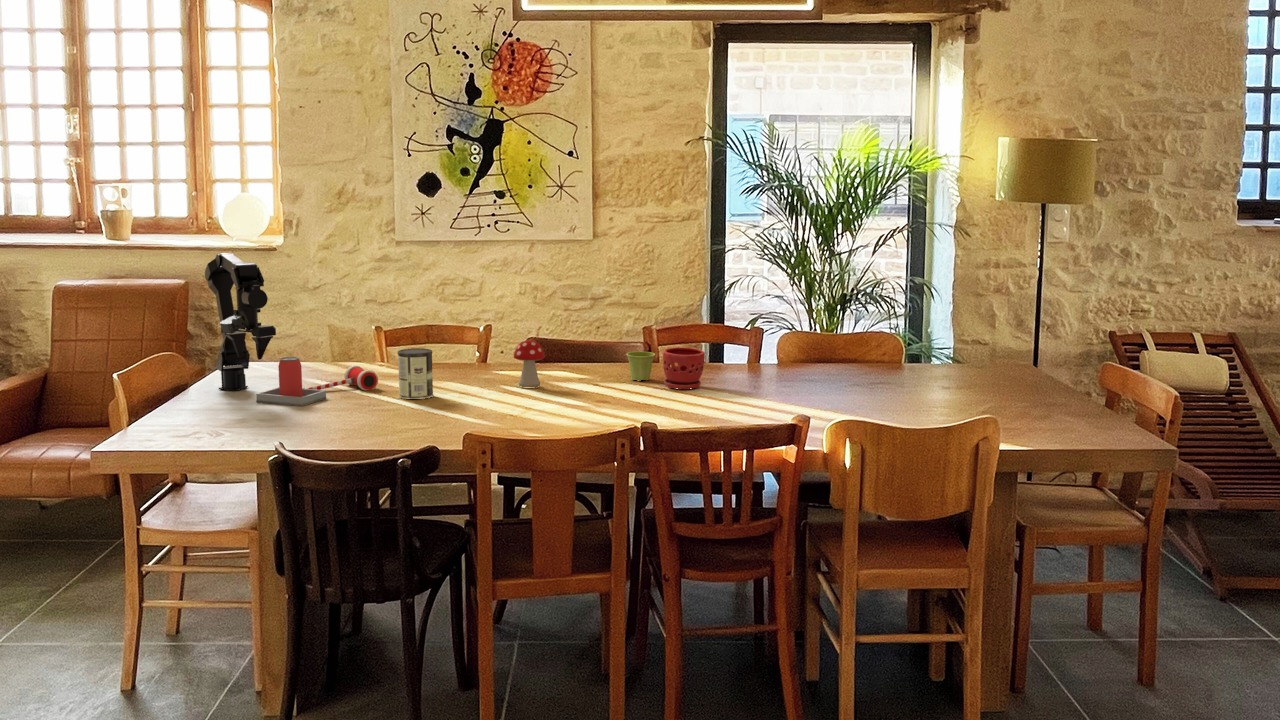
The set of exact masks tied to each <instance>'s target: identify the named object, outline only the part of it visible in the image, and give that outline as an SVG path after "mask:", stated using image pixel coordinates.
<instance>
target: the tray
mask: <svg viewBox="0 0 1280 720" xmlns="http://www.w3.org/2000/svg"><path fill="white" fill-rule="evenodd" d="M302 395H303V396H302V397H294V396H283V395H280V392H279V386H277V387H275V388H272V389H268V390H265V391H261V392H258V393H256V394H255V400H256V401H255V402H256V403H261V402H262V403H263V404H273V405H274V404H275V405H284V406H293V407H294V406H295V407H304V406H308V405H310V404H311V405H312V404H313V403H317V402H321V401H323V400H327V390H324V389H321V390H314V389H306V388H305V389H302Z"/></svg>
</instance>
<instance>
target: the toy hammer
mask: <svg viewBox="0 0 1280 720" xmlns="http://www.w3.org/2000/svg"><path fill="white" fill-rule="evenodd" d="M378 383H379V376H378V375H377V373H376V372H375V371H373V370H370V369H365V370H364V368H362V367H361V366H358V365H350V366H348V368H347V369H346V370H345V372H344V379H342V380H338V381H334V382H329V383H324V384H320V385H315V386H311V387H307V388H305V387H302V389H314V390H324V389H329V388H333V387H338V386H343V385H349V386H357V387H358V388H359V389H360V390H363V391H371V390H370V389H372V390H375V389H376V388H377V386H378Z"/></svg>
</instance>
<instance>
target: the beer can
mask: <svg viewBox="0 0 1280 720" xmlns="http://www.w3.org/2000/svg"><path fill="white" fill-rule="evenodd" d="M277 369H278V384H279V385H278V387H279V392H280V395H283V396H294V397H302V396H303V395H302V388H303V378H302V377H303V373H302V372H303V371H302V369H303V368H302V363H301V361H300V357H297V356H284V357H281V358H279V362H278V368H277Z"/></svg>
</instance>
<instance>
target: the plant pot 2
mask: <svg viewBox="0 0 1280 720" xmlns="http://www.w3.org/2000/svg"><path fill="white" fill-rule="evenodd" d="M705 352H706V351H704V350H702V349H699V348H693V347H683V346H682V347H679V346H678V347H670V348H665V349H664V350H663V351H662V363H663V372H664V375H665V376H664V377H666V379H664V381H663V383H664V385H665V386H666V387H667V388H669V387H670V388H669V389H671V388H678V389H690V388H696V389H698V388H700V386H701V384H702V382H701V381H700V379H701V376H702V374H703V371H704V367H705V357H706V356H705V354H706V353H705ZM675 364H677V365H675ZM697 387H698V388H697Z"/></svg>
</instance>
